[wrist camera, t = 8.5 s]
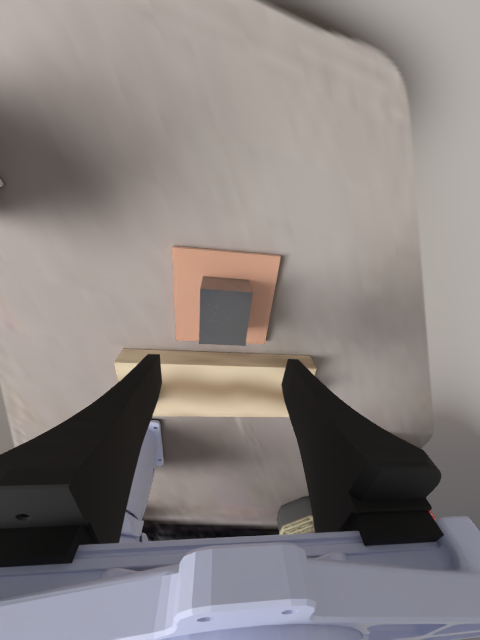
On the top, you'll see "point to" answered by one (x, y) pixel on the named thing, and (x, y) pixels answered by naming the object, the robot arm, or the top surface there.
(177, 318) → the terracotta tile
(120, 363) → the hand plane
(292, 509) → the liquor
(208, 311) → the gray rectangular block
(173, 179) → the top surface
